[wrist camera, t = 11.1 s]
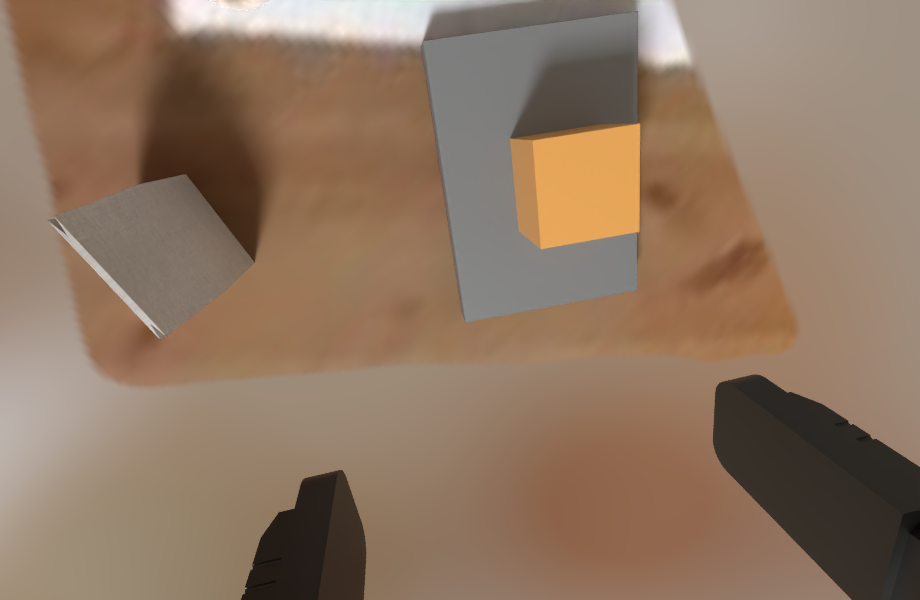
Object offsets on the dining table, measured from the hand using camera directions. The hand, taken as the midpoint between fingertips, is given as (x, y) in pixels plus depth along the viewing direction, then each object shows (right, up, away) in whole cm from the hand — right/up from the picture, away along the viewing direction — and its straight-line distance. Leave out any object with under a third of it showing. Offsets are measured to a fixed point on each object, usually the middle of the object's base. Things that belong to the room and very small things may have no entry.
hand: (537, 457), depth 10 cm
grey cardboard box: (-19, +8, +21) cm, 29 cm away
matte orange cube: (+5, +11, +20) cm, 24 cm away
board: (+4, +12, +22) cm, 25 cm away
